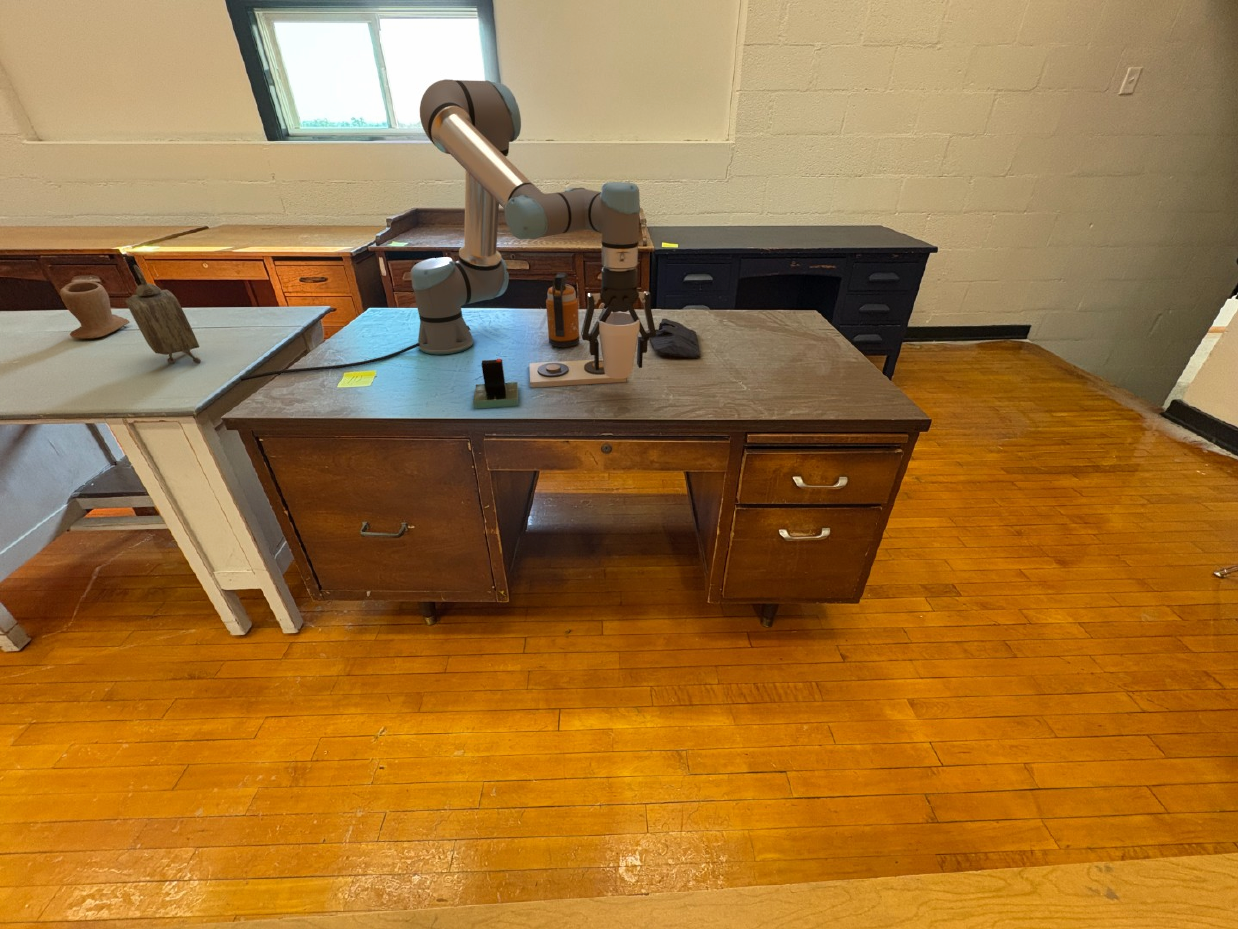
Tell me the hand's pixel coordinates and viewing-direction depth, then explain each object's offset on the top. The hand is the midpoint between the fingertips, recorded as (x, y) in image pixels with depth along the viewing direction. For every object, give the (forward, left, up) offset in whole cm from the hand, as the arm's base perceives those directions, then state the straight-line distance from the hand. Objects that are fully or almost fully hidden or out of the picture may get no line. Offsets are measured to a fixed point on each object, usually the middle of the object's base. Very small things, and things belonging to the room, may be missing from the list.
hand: (618, 366), depth 121 cm
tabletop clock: (-115, +38, -8) cm, 121 cm away
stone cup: (-149, +65, -8) cm, 163 cm away
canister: (-11, +36, -8) cm, 38 cm away
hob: (-9, +14, -8) cm, 18 cm away
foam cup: (0, 0, -2) cm, 2 cm away
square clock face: (-29, +3, -8) cm, 30 cm away
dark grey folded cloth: (+21, +31, -8) cm, 38 cm away
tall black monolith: (-29, +3, -6) cm, 30 cm away
